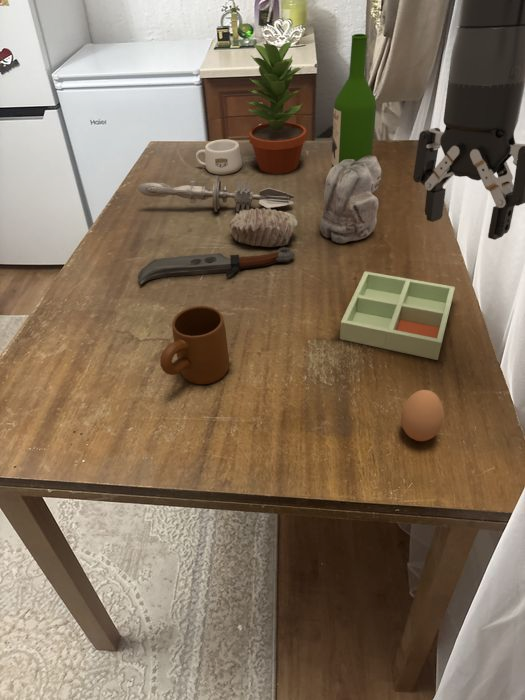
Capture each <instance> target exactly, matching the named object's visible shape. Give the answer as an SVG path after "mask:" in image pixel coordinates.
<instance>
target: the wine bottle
mask: <svg viewBox="0 0 525 700" xmlns="http://www.w3.org/2000/svg"><path fill="white" fill-rule="evenodd" d="M367 39H368V35H367V34H365V33H355V34H352V35H351V44H350V45H351V46H350V59H349V60H350V61H349V72H348V73H349V75H348V78H347V80H346V81H345V83H344V84H343V86H342V88H341V90H340V91H339V93H338V94H337V96H336V97H335V101H334V105H333V117H332V118H333V119H332V122H333V123H332V141H331V144H332V145H331V168H332V167H334V166H336V165H338V164H339V163H340V162H342V161H343V160H346V159H353V160H355V161H356V162H357V161H358V160H360V159H361V158H363V157H365V156H368V155H373V147H374V138H375V137H374V135H375V126H376V125H375V123H376V114H377V113H376V112H377V101H376V97H375V94H374V93H373V91H372V88H371V87H370V85H369V83H368V81H367V79H366V59H367Z"/></svg>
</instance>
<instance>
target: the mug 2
mask: <svg viewBox="0 0 525 700" xmlns="http://www.w3.org/2000/svg"><path fill="white" fill-rule="evenodd" d="M200 154H205V155H204V156H205V157H204V158H205V159H204V160H205V162H204V161H201V160H200ZM195 160H196V162H197V163H198V164H199V165H200V166H205V169H206V170H207V172H208V173H211V174H212V175H220V176H221V175H231V174H234V173H236V172H239V171H240V170H241V169H242V167H243V159H242V154H241V149H240V143H239V142H238V141H236V140H234V139H226V138H223V139H222V138H221V139H216V140H213V141H209V142H208V143H207V144H206V145H205V147H204V149H199V150H198V151H196V153H195Z"/></svg>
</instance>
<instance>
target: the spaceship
mask: <svg viewBox="0 0 525 700" xmlns="http://www.w3.org/2000/svg"><path fill="white" fill-rule="evenodd" d="M241 181H242V183H241ZM246 182H247V187H246ZM241 184H242V186H241ZM236 185H237V186H236V189H235V190H234V192H229V191H228V186H223V187H222V182H221V179H220V176H219V175H216V176H215V180H214V181H213V184H212V189H210V188H209V187H208V186H204V185H203V186H202V185H197V182H196V181H195V180H190V181H189V184H186V185H180V186H176V187H175V186H170V185H168V184H166V183H164V182H152V181H151V182H144V183H140V184H139V185H138V186H137V191H138V192H139V193H140V194H141V195H145V196H148V197H156V198H157V197H158V198H159V197H160V198H165V197H167V196H171V195H172V196H177V197H180V198H184V199H186V200H187V199H188V200H189V203H190V204H195V203H196V202H197V200H201V201H207V200H208V199H209V198H211V200H212V201H211V203H212V206H213V210H214V212H215V213H218V211H219V210H220V206H221V200H222V203H223V204H226V203H227V201H228V198H229V199H230V198H233V199H234V201H235V204H236V205H235V207H236V210H235V211H236V212H240V211H243V210H250V206H251V203H252V202H253V201H254V200H255V201H258V204H259V205H261V206H263V208H265V209H269V208H270V209H272V208H273V209H274V208H279V207H285V206H290V205H293V204H294V200H291V199H294V198H295V195H293V194H291V193H287V192H285V191H282V190H280V189H279V190H278V189H275V188H272V187H267V188H264V189H261V190H259V193H254V191H252V187H251V185H252V181H251V180H249V179H248V180H247V181H246V180H245V179H242V180H241V179H238V180H237V184H236ZM245 205H246V207H245ZM240 206H241V208H240Z"/></svg>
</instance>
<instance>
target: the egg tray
mask: <svg viewBox="0 0 525 700" xmlns="http://www.w3.org/2000/svg"><path fill="white" fill-rule="evenodd" d="M455 289H456V287H455V286H451V285H446V284H440V283H435V282H429V281H423V280H417V279H411V278H407V277H402V276H394V275H388V274H384V273H377V272H373V271H366V270H365V271H364V272H363V274H362V276H361V278H360V280H359V283H358V285H357V287H356V289H355V291H354V293H353V294H352V297H351V300H350V301H349V304H348V306H347V308H346V310H345V312H344V314H343V317H342V319H341V321H340V328H339V340H342V341H347V342H352V343H356V344H361V345H366V346H369V347H370V346H371V347H375V348H380V349H384V350H389V351H392V352H397V353H403V354H407V355H410V356H411V355H412V356H415V357H422V358H426V359H431V360H435V361H438V360H439V357H440V352H441V348H442V344H443V339H444V336H445V331H446V327H447V323H448V319H449V315H450V310H451V306H452V303H453V297H454V293H455Z"/></svg>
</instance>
